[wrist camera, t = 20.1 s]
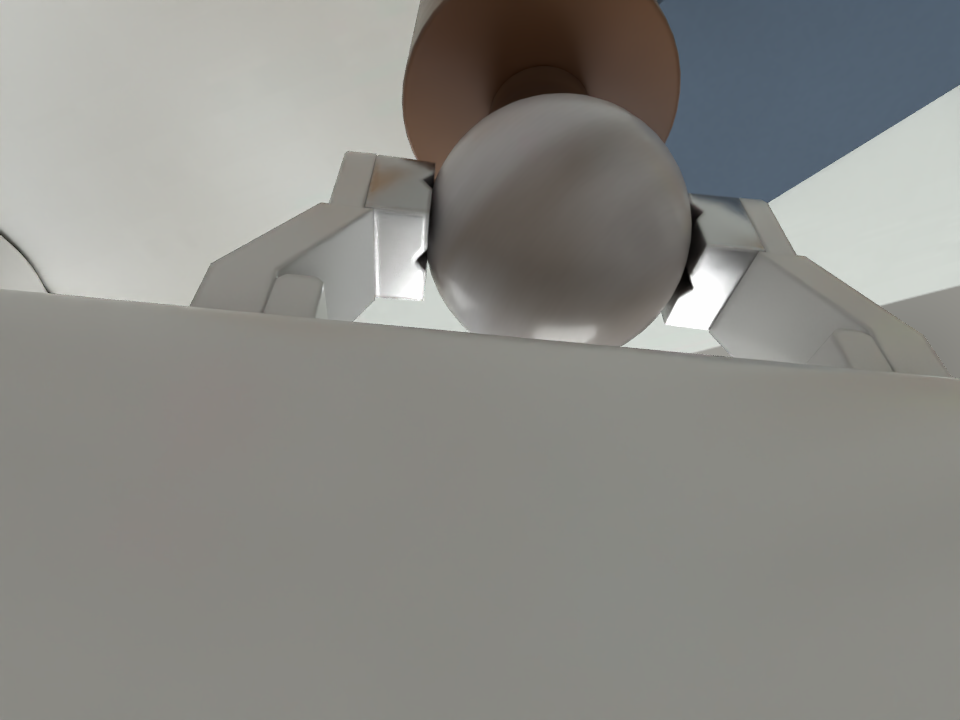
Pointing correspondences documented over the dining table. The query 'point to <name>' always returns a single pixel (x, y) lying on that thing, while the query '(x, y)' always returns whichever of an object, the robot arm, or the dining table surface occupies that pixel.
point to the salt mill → (550, 164)
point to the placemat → (799, 83)
